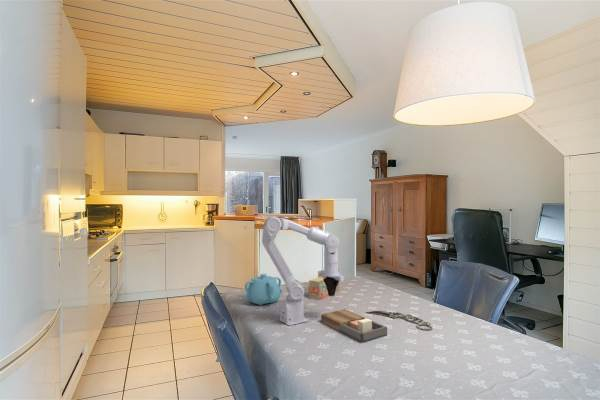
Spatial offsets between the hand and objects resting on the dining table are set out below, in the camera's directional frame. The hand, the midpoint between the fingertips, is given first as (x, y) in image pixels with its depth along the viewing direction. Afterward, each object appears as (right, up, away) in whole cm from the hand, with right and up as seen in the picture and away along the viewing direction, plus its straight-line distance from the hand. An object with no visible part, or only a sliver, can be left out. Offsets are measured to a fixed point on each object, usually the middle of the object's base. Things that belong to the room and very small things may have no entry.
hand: (331, 295), depth 137 cm
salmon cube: (+9, -9, -14) cm, 19 cm away
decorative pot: (-31, -10, +24) cm, 41 cm away
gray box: (+10, -9, -17) cm, 21 cm away
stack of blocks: (0, -10, +37) cm, 38 cm away
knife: (+28, -10, -2) cm, 30 cm away
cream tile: (+10, -6, -16) cm, 20 cm away
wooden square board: (+4, -9, -6) cm, 12 cm away
